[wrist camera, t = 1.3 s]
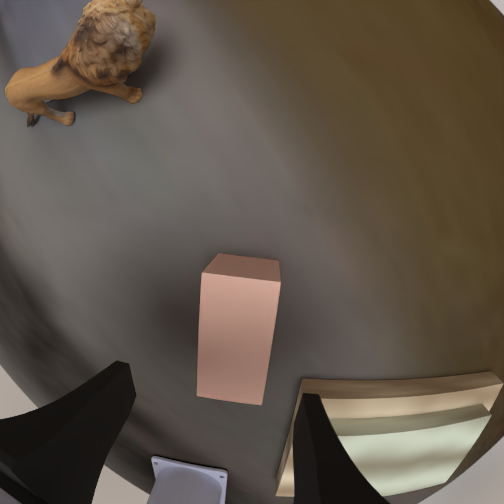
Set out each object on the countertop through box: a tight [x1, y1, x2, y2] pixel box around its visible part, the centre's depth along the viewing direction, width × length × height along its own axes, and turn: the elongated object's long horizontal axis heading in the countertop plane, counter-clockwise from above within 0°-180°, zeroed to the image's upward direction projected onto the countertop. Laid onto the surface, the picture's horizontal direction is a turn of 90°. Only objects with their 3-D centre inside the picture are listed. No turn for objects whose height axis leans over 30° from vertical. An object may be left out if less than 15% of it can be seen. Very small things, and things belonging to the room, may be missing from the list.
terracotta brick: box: [197, 253, 281, 405], centre depth 18 cm, size 8×4×5 cm, turn 174°
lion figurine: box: [5, 0, 155, 127], centre depth 14 cm, size 15×5×9 cm, turn 103°
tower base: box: [276, 371, 503, 496], centre depth 20 cm, size 14×20×4 cm
